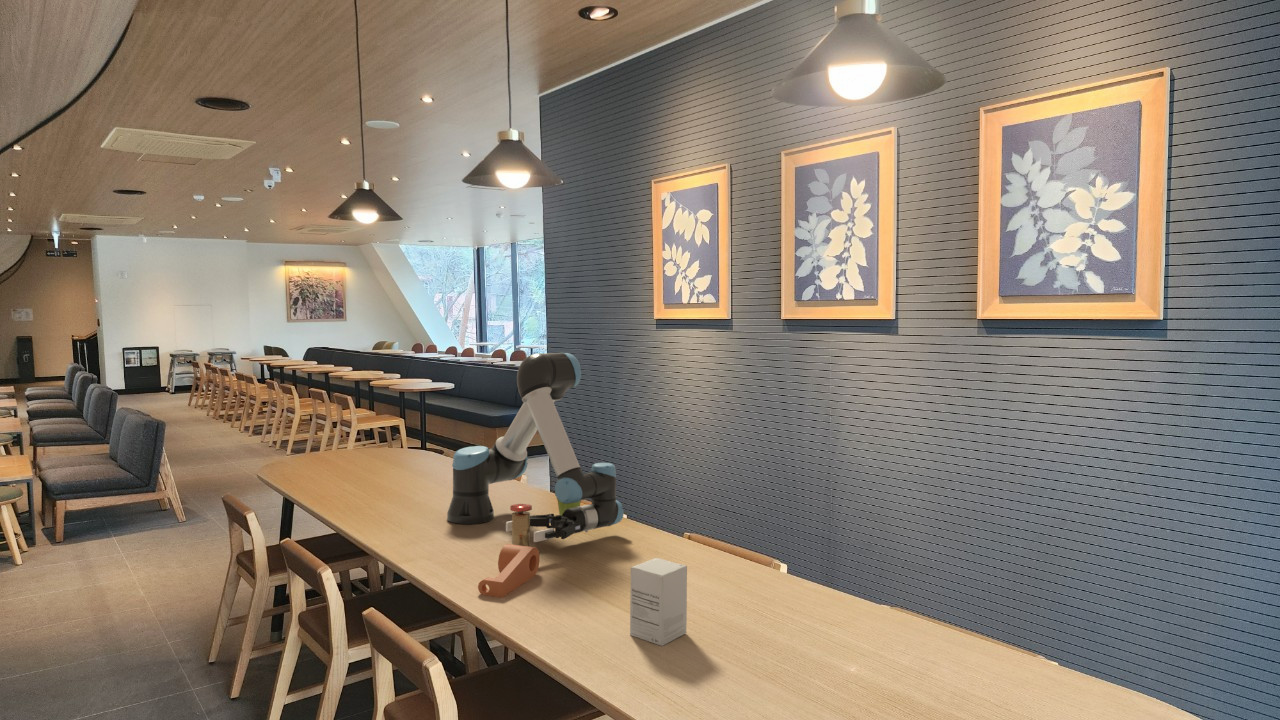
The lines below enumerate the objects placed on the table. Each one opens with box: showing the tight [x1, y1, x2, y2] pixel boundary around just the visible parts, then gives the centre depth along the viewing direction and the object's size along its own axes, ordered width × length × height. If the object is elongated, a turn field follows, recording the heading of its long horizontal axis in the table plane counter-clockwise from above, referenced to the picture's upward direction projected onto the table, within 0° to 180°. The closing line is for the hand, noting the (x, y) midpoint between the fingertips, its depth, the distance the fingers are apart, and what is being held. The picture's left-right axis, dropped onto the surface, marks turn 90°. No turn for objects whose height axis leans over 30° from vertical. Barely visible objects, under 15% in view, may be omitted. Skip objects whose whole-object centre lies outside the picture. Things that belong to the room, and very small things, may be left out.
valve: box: [509, 503, 533, 547], centre depth 220 cm, size 6×6×14 cm
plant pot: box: [556, 498, 582, 516], centre depth 261 cm, size 9×9×9 cm
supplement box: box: [629, 557, 688, 647], centre depth 167 cm, size 9×9×15 cm
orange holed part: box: [477, 543, 541, 598], centre depth 198 cm, size 20×8×8 cm, turn 161°
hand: (520, 531), depth 220 cm, fingers open, 13 cm apart
